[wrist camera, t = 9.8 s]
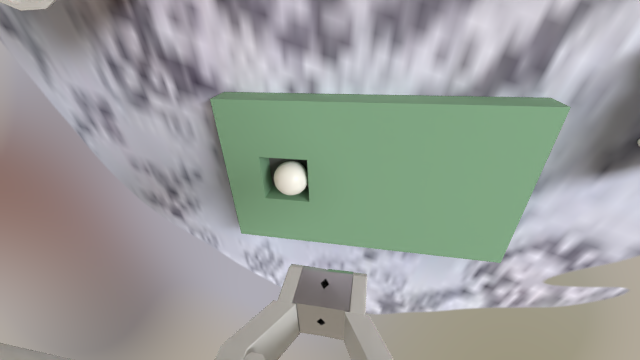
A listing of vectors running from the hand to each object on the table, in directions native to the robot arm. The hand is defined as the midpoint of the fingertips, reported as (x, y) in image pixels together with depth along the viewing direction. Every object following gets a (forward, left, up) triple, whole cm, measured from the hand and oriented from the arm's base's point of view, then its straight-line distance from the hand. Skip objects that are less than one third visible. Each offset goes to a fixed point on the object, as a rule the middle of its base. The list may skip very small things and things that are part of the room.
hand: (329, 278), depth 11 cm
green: (+7, +1, -21) cm, 22 cm away
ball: (+7, -8, -19) cm, 22 cm away
